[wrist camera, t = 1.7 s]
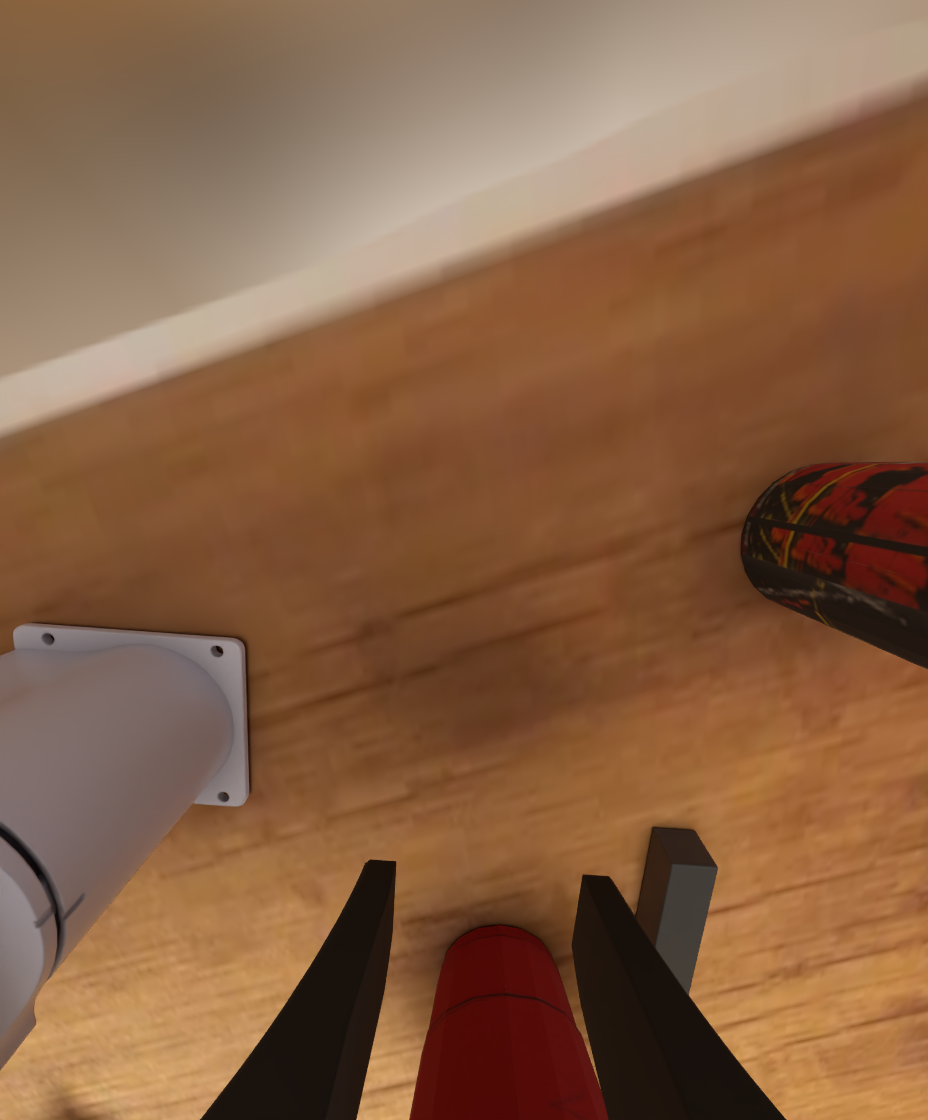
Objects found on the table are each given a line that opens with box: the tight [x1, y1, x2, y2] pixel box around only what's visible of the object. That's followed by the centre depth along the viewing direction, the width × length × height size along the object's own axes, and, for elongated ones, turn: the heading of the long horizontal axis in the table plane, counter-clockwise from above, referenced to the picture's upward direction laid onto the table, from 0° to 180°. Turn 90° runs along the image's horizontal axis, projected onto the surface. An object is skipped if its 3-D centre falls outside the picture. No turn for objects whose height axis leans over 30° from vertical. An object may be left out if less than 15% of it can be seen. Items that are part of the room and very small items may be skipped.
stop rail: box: [636, 828, 718, 995], centre depth 22 cm, size 2×18×2 cm, turn 176°
